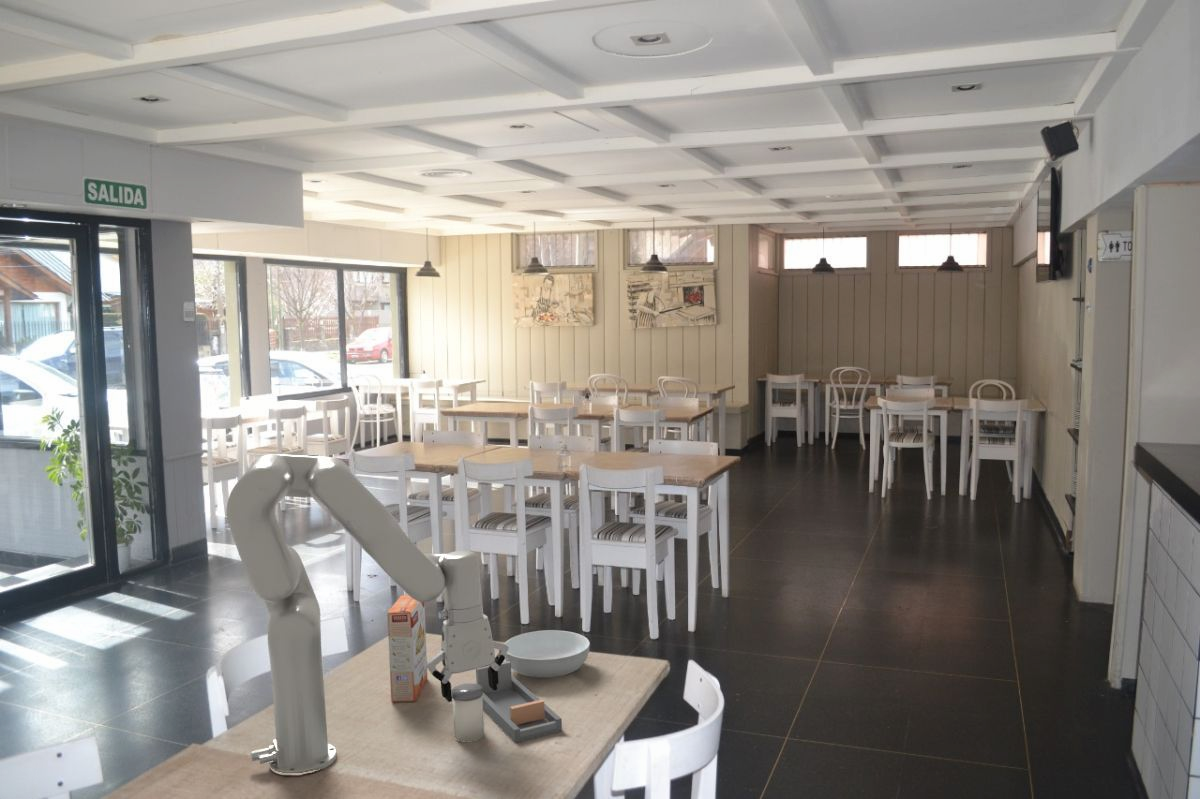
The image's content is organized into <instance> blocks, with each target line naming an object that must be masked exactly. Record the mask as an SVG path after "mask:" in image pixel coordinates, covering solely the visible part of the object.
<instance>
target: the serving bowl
mask: <svg viewBox="0 0 1200 799" xmlns="http://www.w3.org/2000/svg"><path fill="white" fill-rule="evenodd" d="M503 644H506V645H507V646H508V651H507V654H506V655H505V662H506V661H510V662H511V670H513V671H514V672H516V673H518V674H520V675H523V676H526V677H531V678H538V679H551V677H552V678H557V677H562V676H566V675H568V674H569V675H570V674H571V673H573V672H575V671H577V670H578V669H579V668H581V667H582V666H583V665H584V663H585V662H586V661H587V658H588V656H589V653H590V646H591V643H590V640H589V639H588V638H587V637H585V636H584V635H583V634H579V633H576V632H574V631H573V632H572V631H566V630H559V629H558V630H556V629H555V630H554V629H553V630H552V629H551V630H548V629H547V630H536V631H530V632H525V633H521V634H518V635H515V636H513V637H511V638H510V639H507V640H506V641H505V642H504V643H503Z"/></svg>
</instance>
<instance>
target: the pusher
mask: <svg viewBox="0 0 1200 799" xmlns="http://www.w3.org/2000/svg"><path fill="white" fill-rule="evenodd" d="M544 704H545V701H544V699H540V700H537V701H533V702H529V703H525V704H520V705H516V706H512V707H510V718H511V720H512V721H513V722H514V723H515V724H516V725H518V724H523V723H527V722H531V721H535V720H539V719H543V718H545V708H544Z"/></svg>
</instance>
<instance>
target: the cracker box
mask: <svg viewBox="0 0 1200 799" xmlns="http://www.w3.org/2000/svg"><path fill="white" fill-rule="evenodd" d="M425 610H426V608H425V602H419V601H417V600H415V599H413V598H411V597H410V596H409V595H408V594H402V595H400V596H399V598H398V599H397V600H396V602H395V603H394V604H393V605H392V607H390V609H389V610H388V612H387V613H386V614H387V616H386V617H387V631H388V632H387V635H388V636H387V637H388V652H389V653H388V655H389V656H388V657H389V678H390V679H389V680H390V681H389V682H390V701H391V703H406V702H407V703H409V702H412V703H413V702H416V700H417V699H418V697H419V695H420V693H421V691H422V689H423V687H424V686H425V684H426V682H427V680H428V668H427V666H426V663H427V662H428V660H427V633H426V631H427V630H426V611H425Z"/></svg>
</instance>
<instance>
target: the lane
mask: <svg viewBox="0 0 1200 799" xmlns="http://www.w3.org/2000/svg"><path fill="white" fill-rule="evenodd" d="M489 666H490V665H489ZM489 666H486V667H482V668H478V669H475V677H476V678H475V679H476V681H475V682H476V684H479V685H481V686H482V690H483V695H482V699H483V712H485V713H486V714H487V716H488V717H490V719H492V721H493V722H495V724H496V723H497V724H498V725H499V726H500V727H501V728H502V729H503V730H502V729H501V728H500V727H499V726H498V725H497V724H496V725H497V726H498V727H499V728H500V729H501V730H502V731H503V732H504V733H505V734H506V735H507V736H508V737H509V739H511V741H513V742H514V743H520V742H523V741H527V740H531V739H535V738H538V737H542V736H546V735H550V734H554V733H555V734H556V733H559V732H563V726H562V725H563V724H562V717H560V715H558V714H557V713H556V712H555V711H553V710H552V709H551V708H550V707H549V706H548V705H547V704H546V703H544V708H545V718H543V719H539V720H535V721H531V722H527V723H523V724H518V725H516V724H515V723H514V722H513V721H512V720H511V718H510V707H512V706H516V705H520V704H525V703H529V702H533V701H537V700H541V699H540V698H539V697H537V696H536V694H535V693H533V692H532V691H530V689H529V688H527V687H526V686H525V685H523V683H521V681H519V680H518V679H517V677H516V678H515V677H512V668H511V662H510V661H506V660H505V661H503V663H502V664H501V666H500V669H499V670H498V681H499V683H498V684H497V690H495V691H494V690H493V689H492V688H491V687H490V686H489V681H488V667H489ZM534 737H535V738H534Z"/></svg>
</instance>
